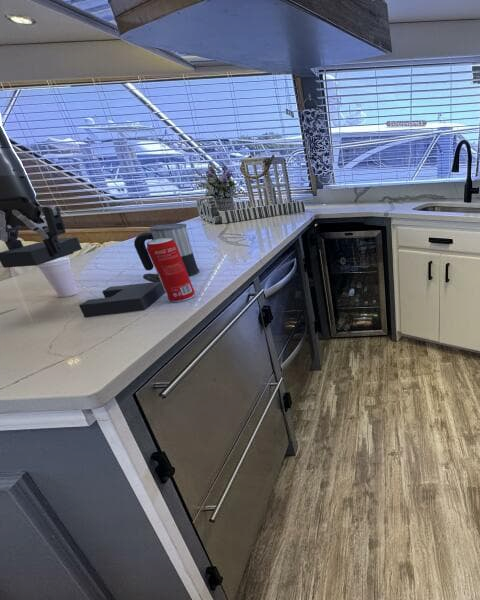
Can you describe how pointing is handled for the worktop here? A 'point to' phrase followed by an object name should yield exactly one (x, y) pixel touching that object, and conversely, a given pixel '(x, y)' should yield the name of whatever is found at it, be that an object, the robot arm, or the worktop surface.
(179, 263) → the beverage can
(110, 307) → the notch pad
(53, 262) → the smoothie
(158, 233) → the milk frother
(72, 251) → the pad
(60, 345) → the worktop surface
